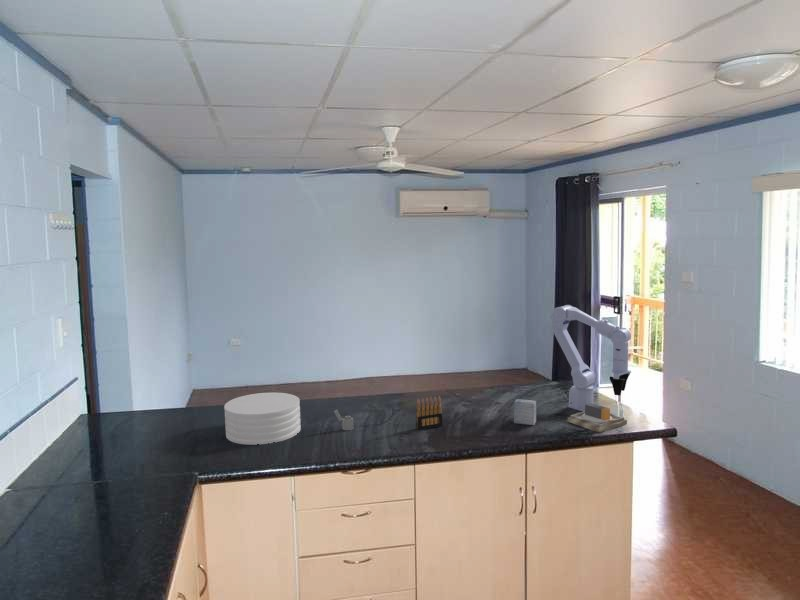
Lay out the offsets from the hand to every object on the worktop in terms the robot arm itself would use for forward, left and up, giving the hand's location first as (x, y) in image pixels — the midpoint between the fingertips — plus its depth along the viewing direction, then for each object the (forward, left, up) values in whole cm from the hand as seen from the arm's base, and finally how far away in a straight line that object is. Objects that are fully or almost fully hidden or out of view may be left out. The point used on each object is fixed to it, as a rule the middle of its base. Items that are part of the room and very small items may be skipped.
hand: (619, 392), depth 232 cm
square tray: (+1, -14, -9) cm, 17 cm away
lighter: (-51, -97, -10) cm, 110 cm away
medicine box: (-16, -36, -10) cm, 41 cm away
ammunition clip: (-34, -69, -10) cm, 78 cm away
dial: (0, -14, -8) cm, 16 cm away
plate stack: (-68, -123, -10) cm, 141 cm away
